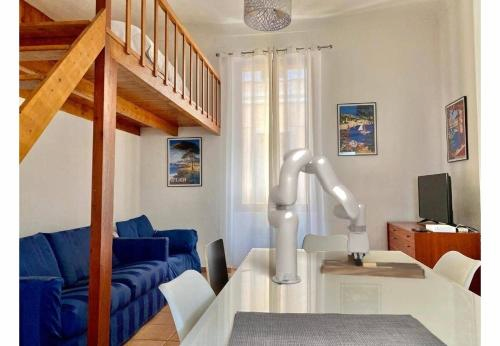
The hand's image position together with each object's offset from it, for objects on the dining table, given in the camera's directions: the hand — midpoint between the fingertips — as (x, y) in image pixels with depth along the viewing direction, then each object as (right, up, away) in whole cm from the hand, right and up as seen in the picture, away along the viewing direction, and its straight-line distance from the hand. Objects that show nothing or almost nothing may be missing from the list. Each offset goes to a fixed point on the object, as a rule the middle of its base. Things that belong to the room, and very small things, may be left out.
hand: (358, 266), depth 181 cm
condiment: (+4, -4, +21) cm, 22 cm away
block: (+5, -3, -1) cm, 6 cm away
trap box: (+5, -3, -1) cm, 6 cm away
